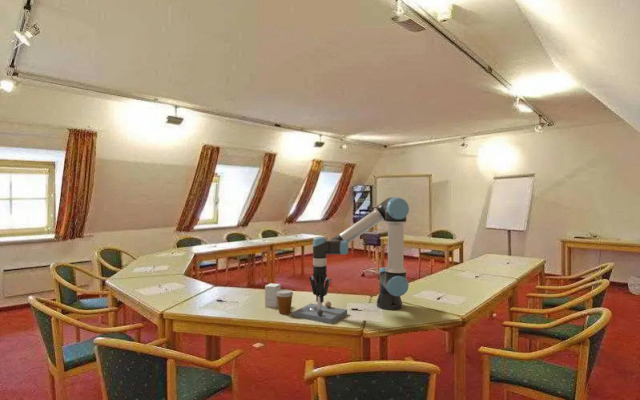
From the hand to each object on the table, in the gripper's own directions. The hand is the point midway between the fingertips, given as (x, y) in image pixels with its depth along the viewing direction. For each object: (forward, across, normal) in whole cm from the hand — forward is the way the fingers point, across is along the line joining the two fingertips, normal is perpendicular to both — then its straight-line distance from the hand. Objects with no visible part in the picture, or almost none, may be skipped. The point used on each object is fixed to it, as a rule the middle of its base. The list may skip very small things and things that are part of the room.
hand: (319, 307), depth 200 cm
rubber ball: (0, -4, +7) cm, 8 cm away
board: (+4, 0, 0) cm, 4 cm away
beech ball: (0, -1, -7) cm, 7 cm away
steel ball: (+3, +5, 0) cm, 6 cm away
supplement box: (+4, +34, -1) cm, 34 cm away
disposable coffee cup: (+4, +20, +6) cm, 21 cm away
